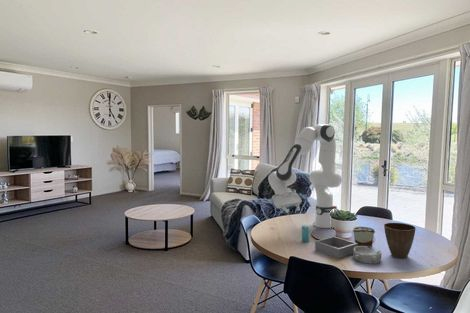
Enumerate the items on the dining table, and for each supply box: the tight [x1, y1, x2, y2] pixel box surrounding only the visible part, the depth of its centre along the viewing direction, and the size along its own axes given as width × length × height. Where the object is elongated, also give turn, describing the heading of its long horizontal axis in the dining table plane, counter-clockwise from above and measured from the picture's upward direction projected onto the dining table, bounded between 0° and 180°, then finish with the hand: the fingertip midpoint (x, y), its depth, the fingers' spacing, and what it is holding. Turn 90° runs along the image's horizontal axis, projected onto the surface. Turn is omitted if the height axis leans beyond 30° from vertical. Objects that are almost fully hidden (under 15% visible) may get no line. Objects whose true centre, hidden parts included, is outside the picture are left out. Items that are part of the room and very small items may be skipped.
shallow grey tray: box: [314, 235, 358, 260], centre depth 182 cm, size 16×16×5 cm
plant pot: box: [383, 222, 417, 259], centre depth 174 cm, size 15×15×16 cm
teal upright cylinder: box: [301, 225, 310, 243], centre depth 200 cm, size 4×4×9 cm
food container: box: [352, 226, 376, 248], centre depth 192 cm, size 12×6×10 cm, turn 84°
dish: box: [352, 246, 382, 265], centre depth 170 cm, size 14×14×5 cm
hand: (293, 211), depth 207 cm, fingers open, 8 cm apart
